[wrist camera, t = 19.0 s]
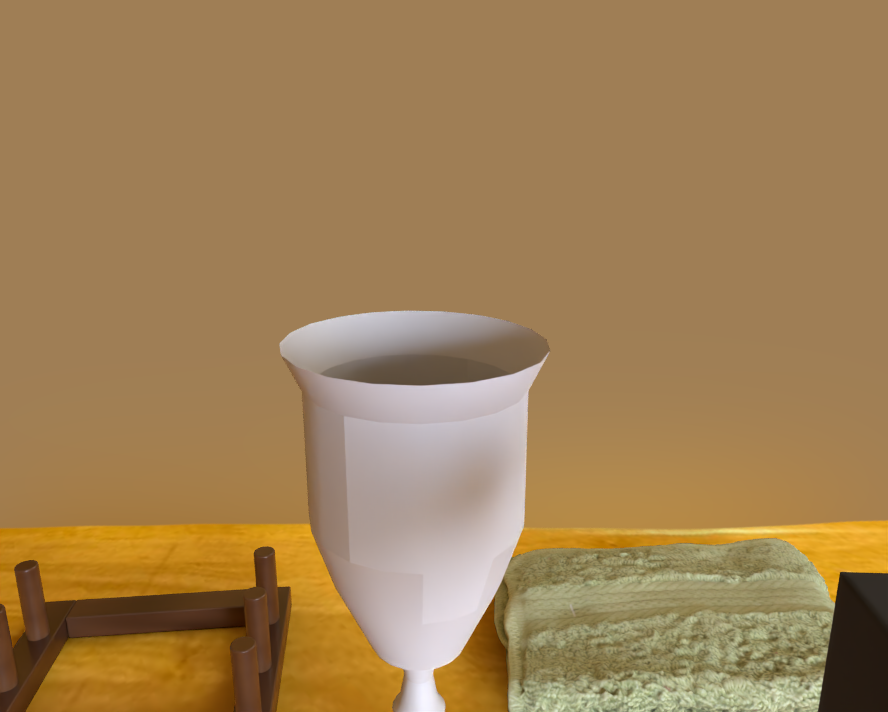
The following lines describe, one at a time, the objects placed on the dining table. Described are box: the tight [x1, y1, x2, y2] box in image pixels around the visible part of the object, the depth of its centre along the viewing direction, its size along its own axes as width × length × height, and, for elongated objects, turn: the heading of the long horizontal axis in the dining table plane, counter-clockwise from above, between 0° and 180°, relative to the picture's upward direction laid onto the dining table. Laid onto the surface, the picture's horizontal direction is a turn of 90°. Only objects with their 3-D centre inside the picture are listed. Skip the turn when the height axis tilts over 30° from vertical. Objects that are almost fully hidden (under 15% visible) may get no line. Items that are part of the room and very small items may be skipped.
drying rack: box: [0, 547, 292, 712], centre depth 33 cm, size 13×13×5 cm
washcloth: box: [494, 538, 835, 712], centre depth 36 cm, size 13×18×3 cm
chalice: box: [280, 311, 550, 712], centre depth 22 cm, size 7×7×18 cm
